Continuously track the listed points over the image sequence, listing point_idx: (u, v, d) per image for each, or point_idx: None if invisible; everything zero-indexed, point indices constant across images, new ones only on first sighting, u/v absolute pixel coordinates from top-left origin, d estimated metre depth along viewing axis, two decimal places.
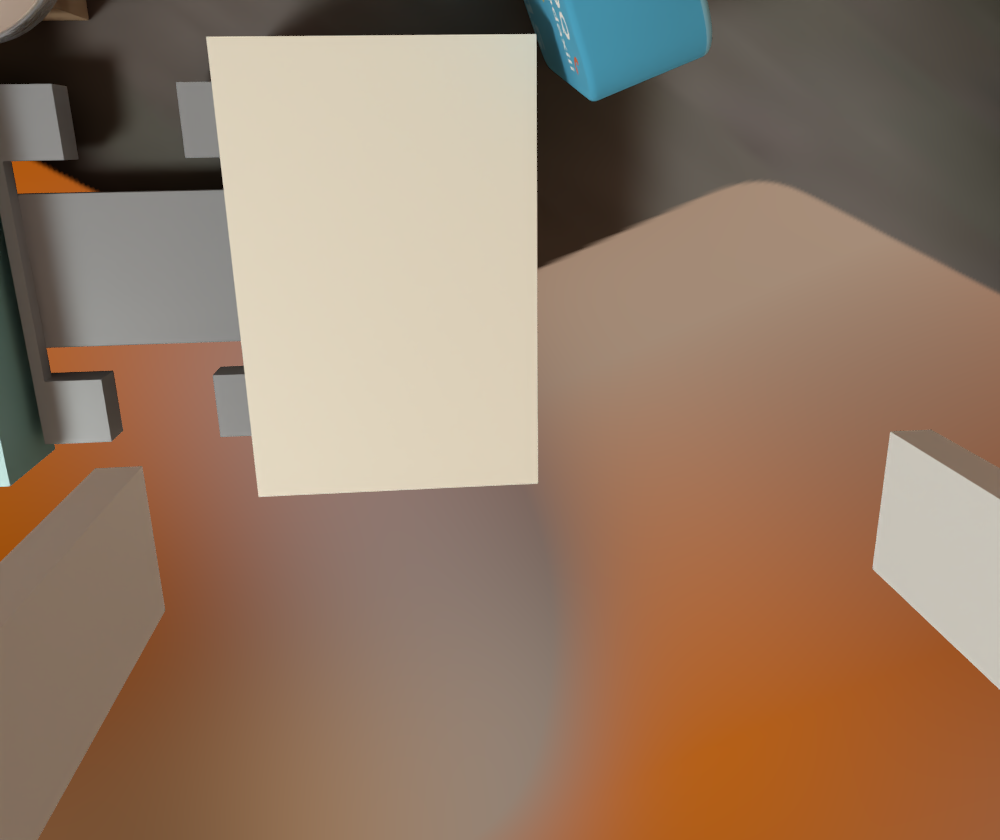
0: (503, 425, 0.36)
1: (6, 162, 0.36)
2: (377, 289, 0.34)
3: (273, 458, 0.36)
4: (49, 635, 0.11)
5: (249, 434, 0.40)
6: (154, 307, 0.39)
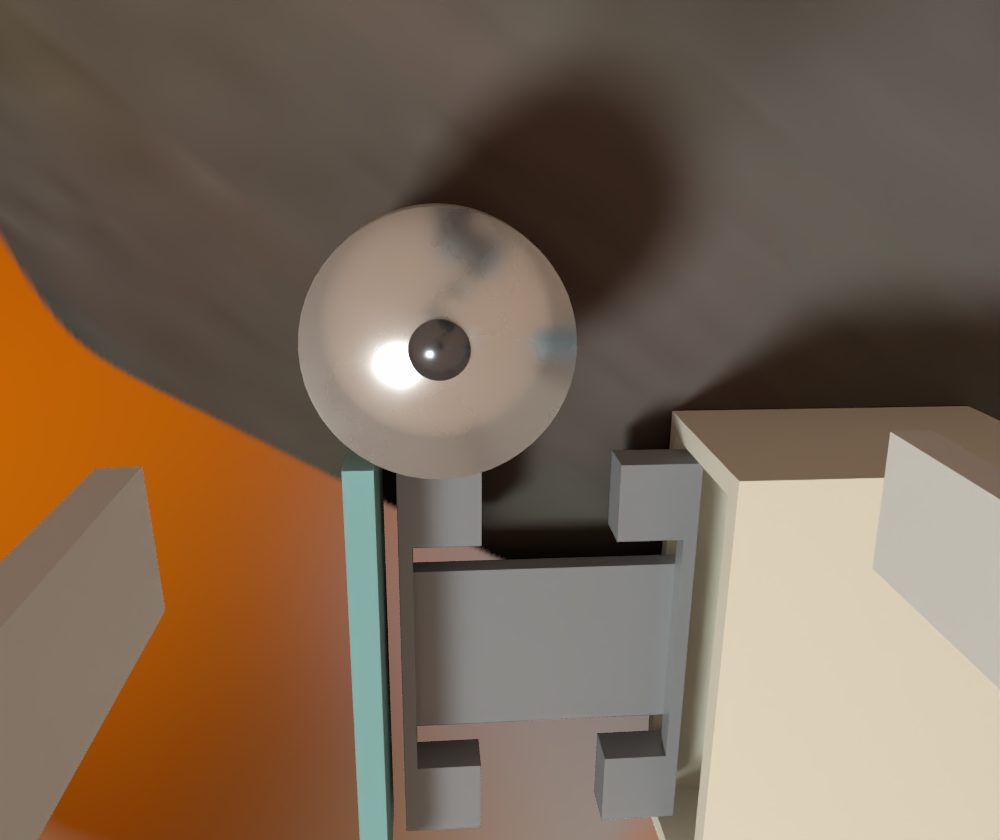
0: None
1: (412, 545, 0.31)
2: (871, 731, 0.29)
3: None
4: (49, 635, 0.11)
5: (633, 816, 0.35)
6: (544, 683, 0.34)
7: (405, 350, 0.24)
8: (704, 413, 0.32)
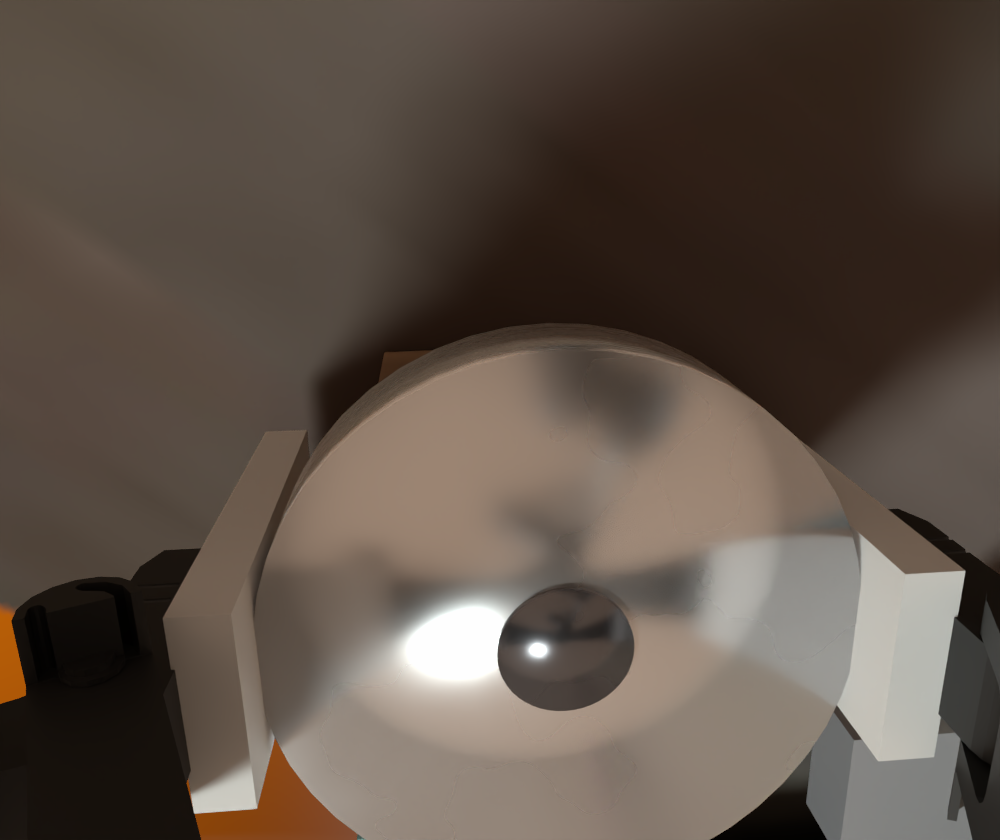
0: None
1: None
2: None
3: None
4: None
5: None
6: None
7: (491, 654, 0.11)
8: None
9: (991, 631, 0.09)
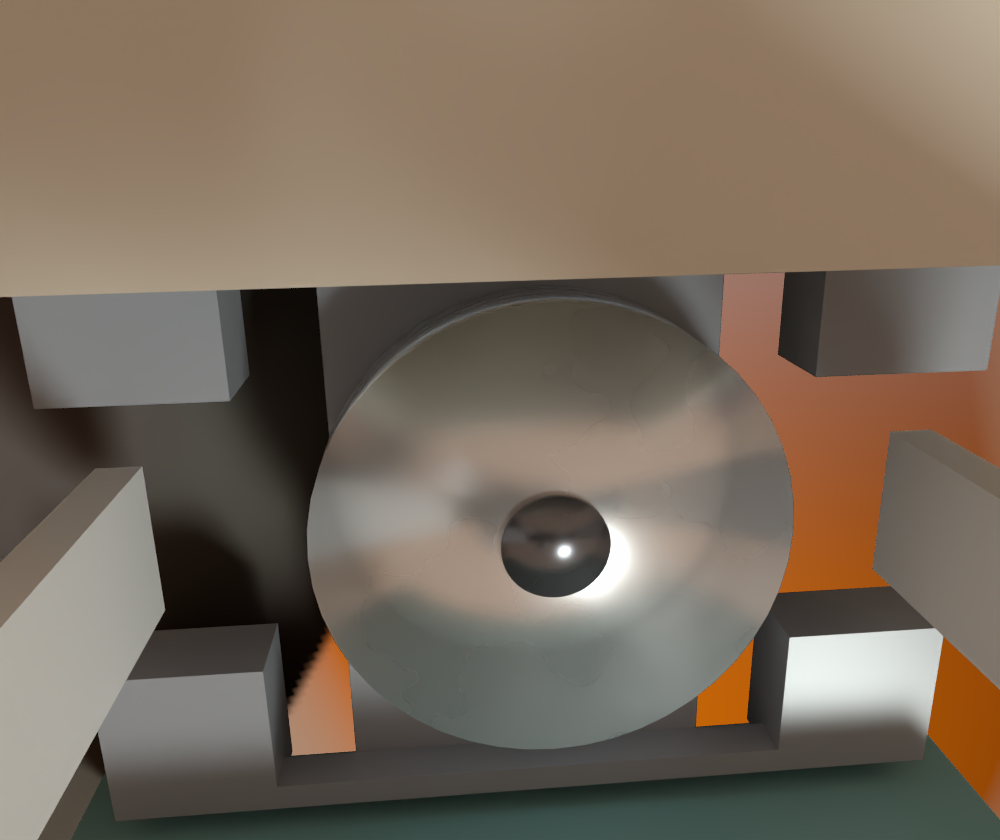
0: None
1: (283, 773, 0.16)
2: None
3: None
4: (49, 635, 0.11)
5: (996, 290, 0.14)
6: None
7: (496, 550, 0.14)
8: None
9: None
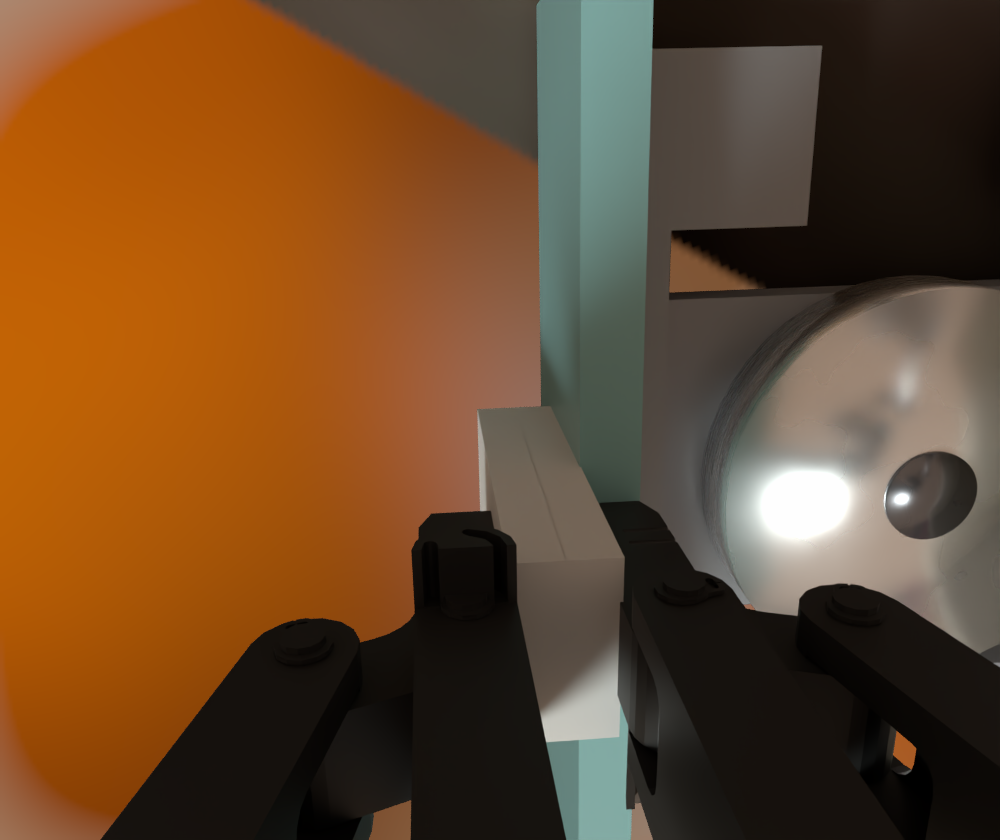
0: None
1: (666, 232, 0.16)
2: None
3: None
4: None
5: None
6: None
7: (936, 448, 0.16)
8: None
9: (641, 626, 0.10)
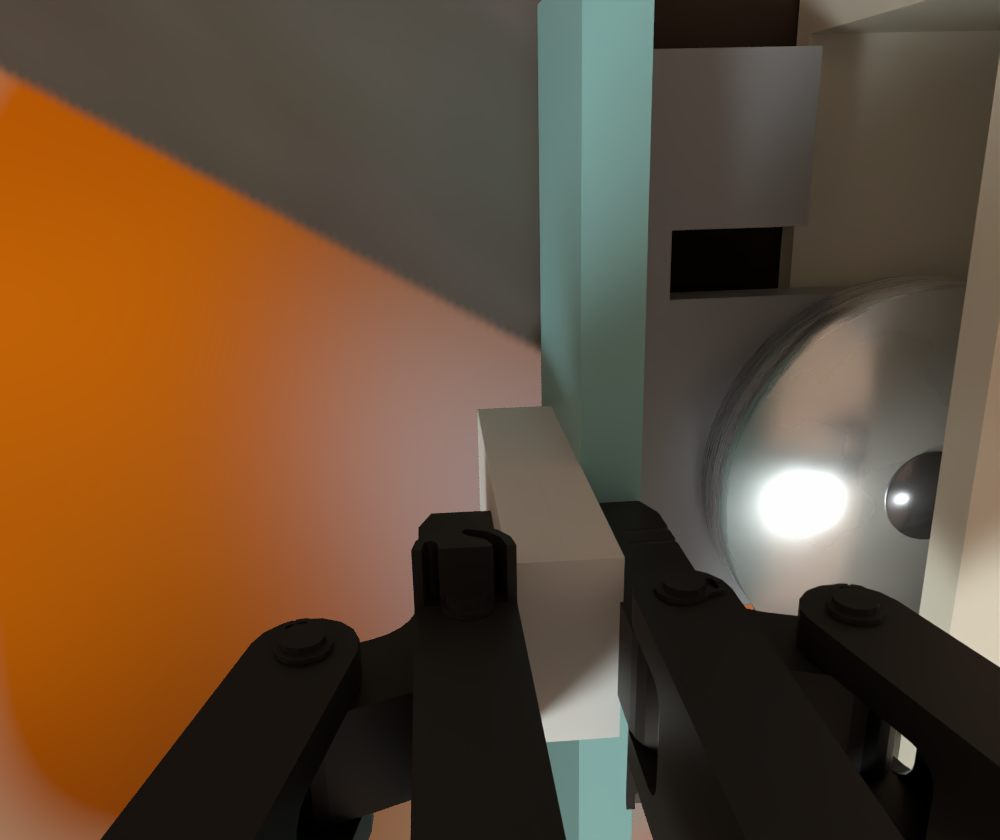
0: None
1: (666, 232, 0.16)
2: None
3: None
4: None
5: None
6: None
7: (937, 448, 0.16)
8: None
9: (642, 626, 0.10)
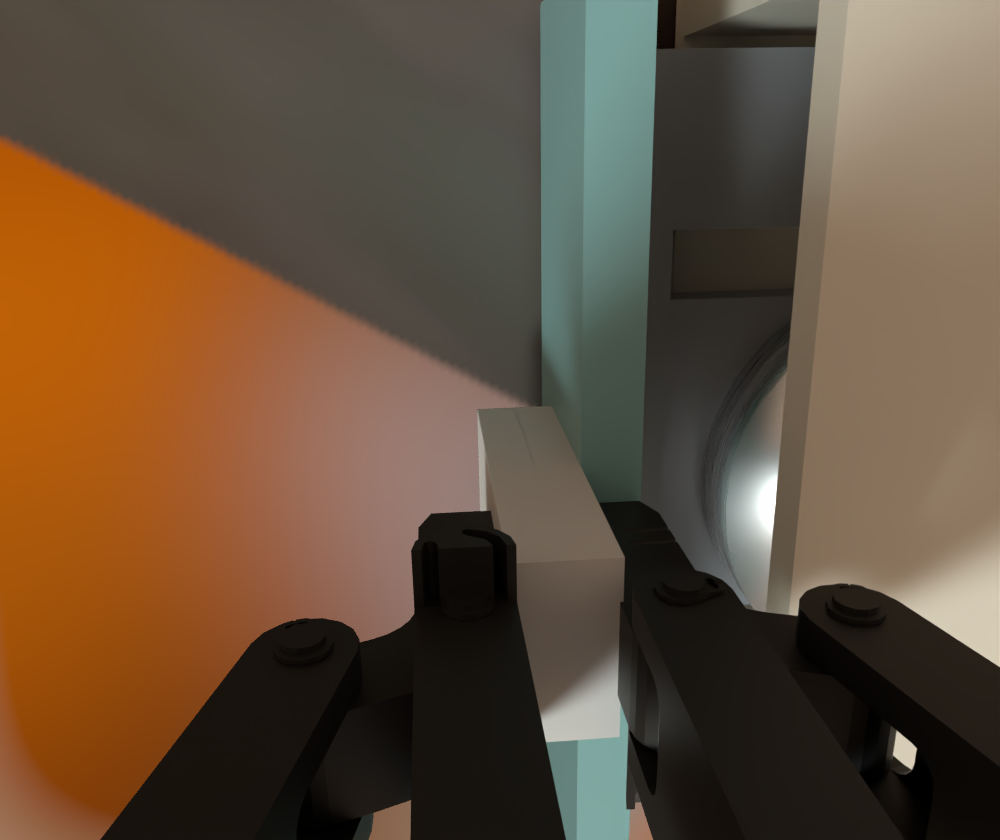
0: None
1: (668, 232, 0.16)
2: None
3: None
4: None
5: None
6: None
7: None
8: None
9: (641, 626, 0.10)
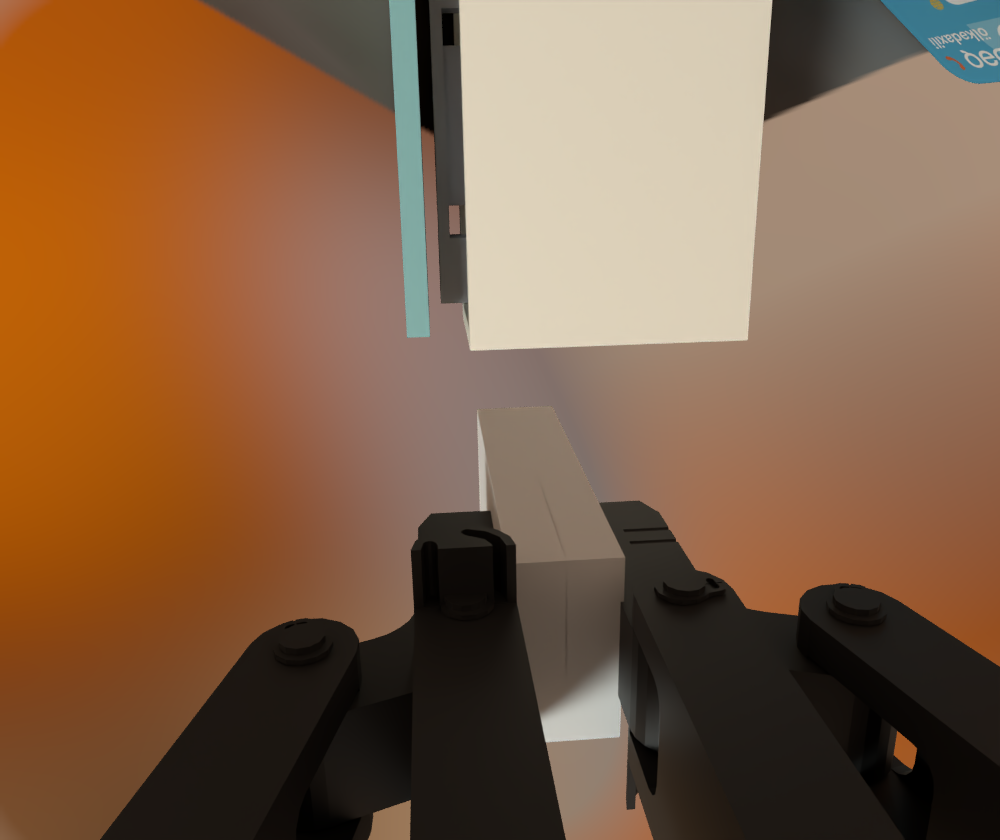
0: (717, 277, 0.36)
1: (441, 10, 0.36)
2: (604, 130, 0.34)
3: (488, 309, 0.35)
4: None
5: None
6: None
7: None
8: None
9: (642, 626, 0.10)
